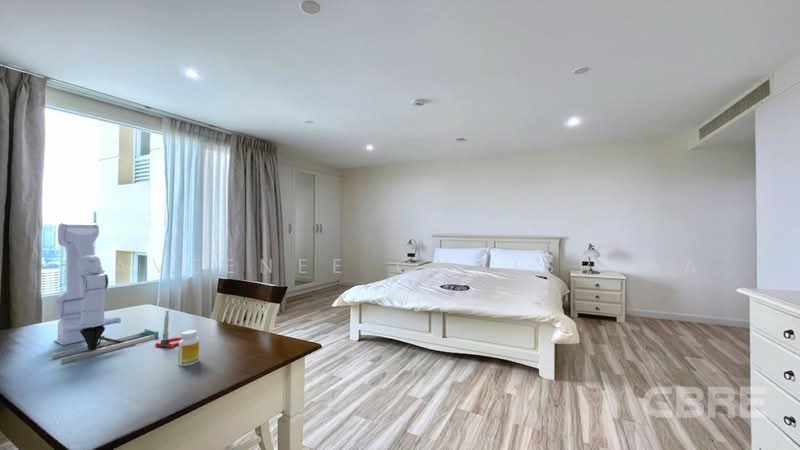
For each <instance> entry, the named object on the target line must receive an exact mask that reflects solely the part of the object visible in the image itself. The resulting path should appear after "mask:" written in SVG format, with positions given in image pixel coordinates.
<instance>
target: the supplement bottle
mask: <svg viewBox="0 0 800 450" xmlns="http://www.w3.org/2000/svg"><path fill="white" fill-rule="evenodd" d="M197 334H198V331H197V330H195V329H190V330H185V331H182V332H181V336H180V337H182V339H181V340H178V342H179V345H178V353H177V354H178V358H177V364H178V366H180V367H186V366H187V367H188V366H192V365H194V364H196V363H198V362H199V360H200V353H199V352H200V338H199V337H198V336H197Z"/></svg>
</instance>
